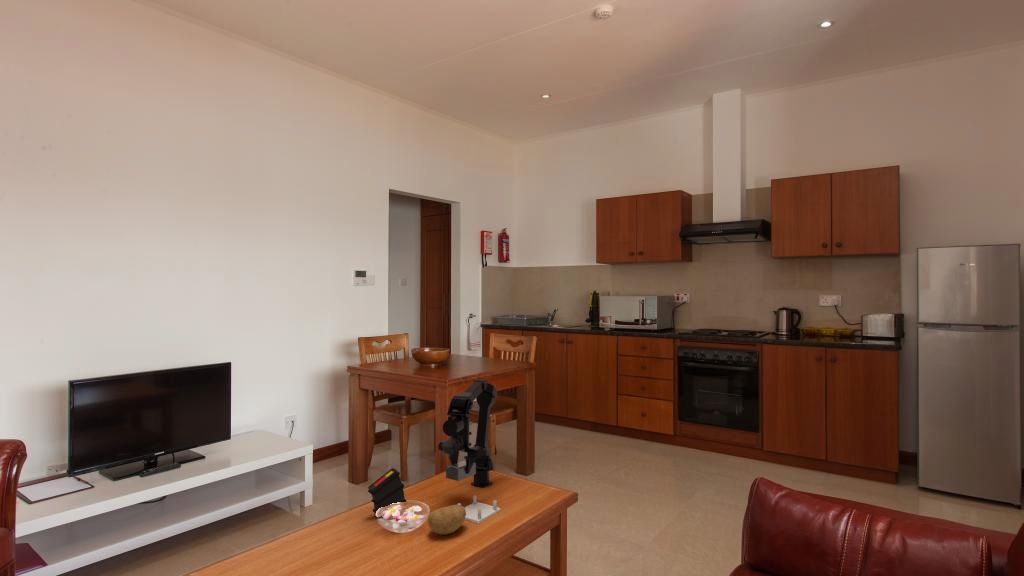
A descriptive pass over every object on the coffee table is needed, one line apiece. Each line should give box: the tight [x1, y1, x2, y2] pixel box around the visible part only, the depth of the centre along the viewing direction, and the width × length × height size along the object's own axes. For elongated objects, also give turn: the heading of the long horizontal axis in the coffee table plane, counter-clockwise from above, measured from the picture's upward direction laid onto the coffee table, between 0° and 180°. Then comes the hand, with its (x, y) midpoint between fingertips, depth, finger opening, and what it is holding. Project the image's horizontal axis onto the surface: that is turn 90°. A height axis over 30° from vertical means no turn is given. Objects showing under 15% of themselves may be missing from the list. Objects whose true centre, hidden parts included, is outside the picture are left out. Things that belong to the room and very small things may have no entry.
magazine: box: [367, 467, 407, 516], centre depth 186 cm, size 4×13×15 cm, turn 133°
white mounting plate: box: [456, 494, 501, 524], centre depth 186 cm, size 13×11×4 cm
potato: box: [427, 504, 466, 536], centre depth 171 cm, size 10×14×8 cm
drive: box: [445, 459, 476, 482], centre depth 195 cm, size 10×6×4 cm, turn 145°
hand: (461, 471), depth 195 cm, fingers closed on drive, 6 cm apart
